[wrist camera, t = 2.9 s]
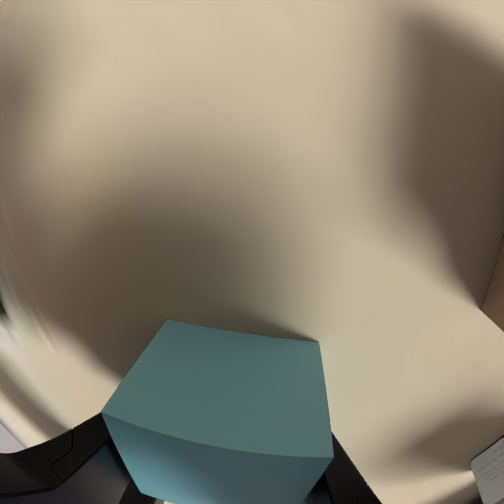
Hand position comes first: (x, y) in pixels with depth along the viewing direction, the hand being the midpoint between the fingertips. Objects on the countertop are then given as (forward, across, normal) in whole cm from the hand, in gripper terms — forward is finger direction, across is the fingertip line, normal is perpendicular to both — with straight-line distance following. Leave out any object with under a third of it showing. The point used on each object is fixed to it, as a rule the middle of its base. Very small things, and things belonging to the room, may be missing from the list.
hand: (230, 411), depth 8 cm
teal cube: (+1, 0, 0) cm, 1 cm away
